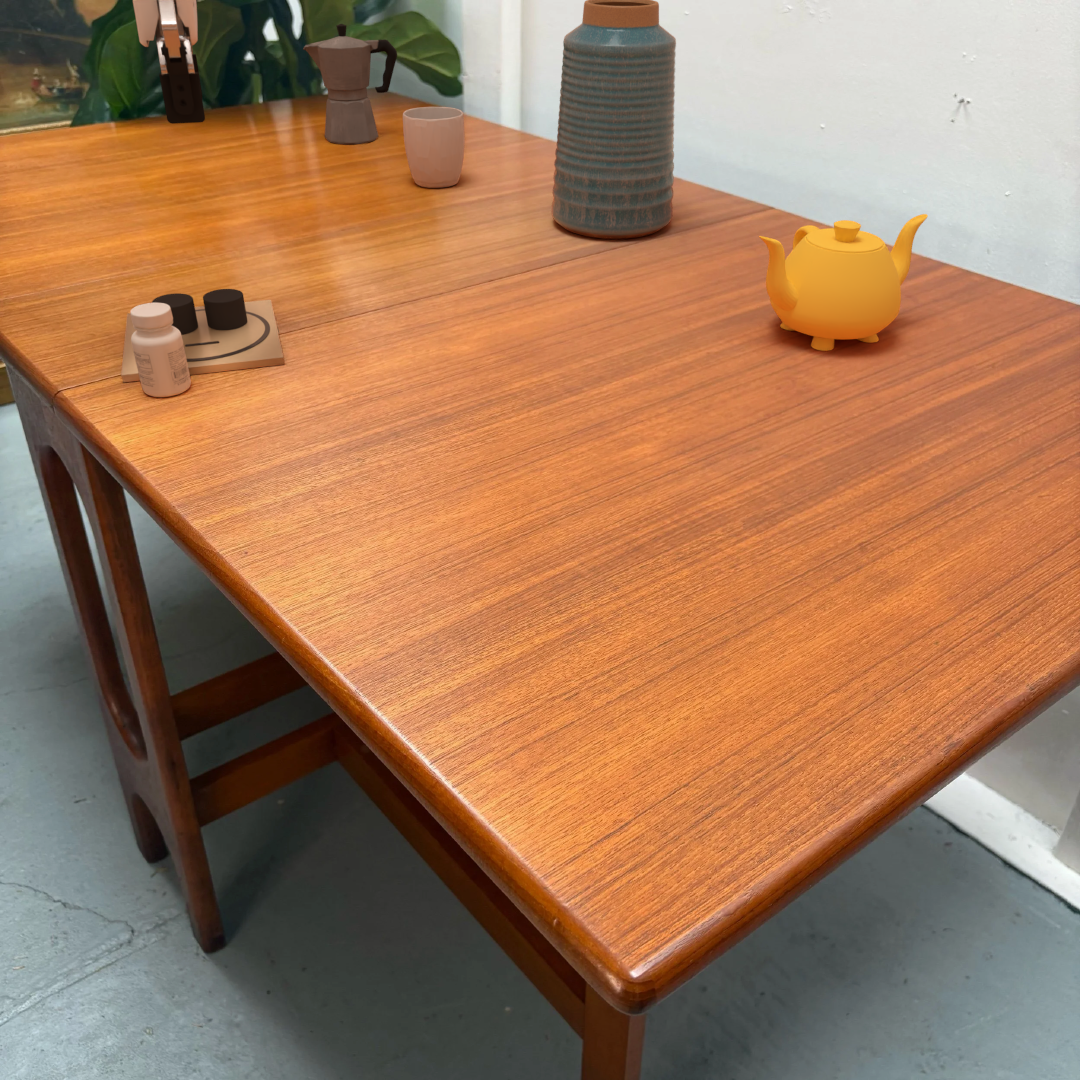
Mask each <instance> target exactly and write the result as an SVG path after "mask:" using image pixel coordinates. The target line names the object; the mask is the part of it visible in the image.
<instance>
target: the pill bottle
mask: <svg viewBox="0 0 1080 1080" xmlns="http://www.w3.org/2000/svg"><path fill="white" fill-rule="evenodd" d="M129 313H131V319H132V323H133V327H134V328H135V329H136V331H135V332H134V333H133V334H132V336H131V343H132V348H133V352H134V356H135V360H136V365H137V369H138V373H139V377H140V381H139V382H140V385H141V389H142V391H143V392H144V393H145V394H146V395H148V396H150V397H153V398H168V397H173V396H177V395H180V394H182V393H184V392H186V391H188V390H189V389H190V387H191V385H192V379H191V375H190V374H189V369H188V364H187V359H186V354H185V350H184V345H183V340H182V335H181V332H180V331H179V330H178V329H177V328H176V327H174V326H171V325H172V324H173V316H172V312H171V308H170V306H169V305H167V304H165V303H152V302H147V303H141V304H138V305H135V306H134V307H132V308H131V309H130V312H129Z"/></svg>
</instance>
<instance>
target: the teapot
mask: <svg viewBox="0 0 1080 1080" xmlns="http://www.w3.org/2000/svg"><path fill="white" fill-rule="evenodd" d="M927 218H928V214H927V213H923V214H919V215H916V216H914V217H912V218H911V219H909V220H907V221H906V222H905V224H904V225H902V226H903V227H902V228H901V229H900V231H899V233H898V234H897V237H896V240H895V242H894V245H893V247H892V248H891V250H889V248H888V246H887V244H886V242H885V241H884V240H883V239H882V238H881V237H879V236H878V235H876V234H873V233H870V232H868V231H864V230H861V228H862V224H860V223H859V222H858V221H854V220H850V219H849V220H848V219H847V220H846V219H842V220H841V219H840V220H837V221H835V222H833V227H829V228H828V227H827V228H819V227H818V226H815V225H812V224H811V225H810V224H809V225H807V224H806V225H803V226H800V227H799V228H798V229H797V230H796V231H795V233H794V236H793V240H792V250H791V251H790V253H789V254H788V255H787V256H786V253H785V249H784V246H783V244H782V243H781V241H779V240H777V239H776V238H771V237H767V236H763V235H758V237H759V239H760V240H762V242H763V243H764V244H765V245H766V248H767V249H768V264H767V265H768V266H767V268H766V269H767V270H766V276H765V288H766V293H767V295H768V297H769V302H770V306H771V308H772V310H773V312H775V314H776V315H777V317H778V319H780V321H781V323H780V325H779V327H780V328H781V329H784V330H785V331H791V332H793V331H796V332H798V333H801V334H804V335H808V336H811V337H812V340H811V343H810V347H811V348H812V349H814V350H817V351H821V352H825V351H826V352H827V351H832V350H833V349H834V348H835V340H858V341H859V342H863V343H868V344H869V343H877V342H878V341H879V340H880V338H879V337H878V333H880V332H881V331H883V330H884V329H885V328H887V327H888V326H889V325H890V324H892V322H894V321H895V319H896V318H897V317H898V315H899V314H900V310H901V303H902V289H901V288H902V287H901V286H902V285H903V283H904V282H905V280H906V279H907V277H908V275H909V272H910V267H911V260H912V252H913V244H914V240H915V238H916V237H915V236H916V234H917V232H918V230H919V228H920V227H921V225H922V224H923V223H924V222H925V221H926V220H927Z"/></svg>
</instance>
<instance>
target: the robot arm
mask: <svg viewBox="0 0 1080 1080" xmlns="http://www.w3.org/2000/svg"><path fill="white" fill-rule="evenodd" d="M132 5H133V11H134V16H135V22H136V28H137V34H138V35H137V36H138V41H139V43H140V44H141V45H142V46H143V47H144V48H148V47H149V46H150V41H152V42H153V41H154V40H155V42H156V47H157V53H158V59H159V67H160V73H159V74H158V76H159V82H160V87H161V93H162V98H163V99H162V100H163V105H164V109H165V115H166V119H167V122H168V123H169V124H194V123H203V122H205V120H206V114H205V108H204V103H203V90H202V84H201V79H200V78H201V77H200V71H199V66H198V59H197V54H196V53H194V50H193V46H194V45H196V43H197V42H198V41H199V39H198V38H199V36H198V32H199V31H198V28H199V27H198V25H199V24H198V8H197V7H198V5H197V0H132Z"/></svg>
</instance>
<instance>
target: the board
mask: <svg viewBox="0 0 1080 1080" xmlns="http://www.w3.org/2000/svg"><path fill="white" fill-rule="evenodd" d="M244 303H245V309H246V315H247V323H246V324H245V325H244V326H242V327H240V328H237V329H233V330H215V329H212V328H210V327H209V326H208V323H207V318H206V313H205V307H204V305H201V306H195V311H196V316H197V322H198V328H197V329H196V330H195V331H193V332H191V333H188V334H184V335H182V340H183V345H184V350H185V354H186V359H187V364H188V369H189V374H190V376H194V375H203V374H211V373H220V372H230V371H237V370H247V369H256V368H264V367H273V366H282V365H285V364H286V363H285V357H284V353H283V347H282V344H281V339H280V334H279V329H278V325H277V320H276V316H275V312H274V306H273V302H272V299H263V300H262V299H261V300H252V301H244ZM135 331H136V329H135V328H134V327H133V323H132V319H131V313H130V312H129V313H128V312H127V313H126V321H125V332H124V343H123V353H122V361H121V371H120V377H121V380H122V383H133V382H140V377H139V373H138V369H137V365H136V360H135V356H134V352H133V348H132V343H131V336H132V334H133V333H134V332H135Z"/></svg>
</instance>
